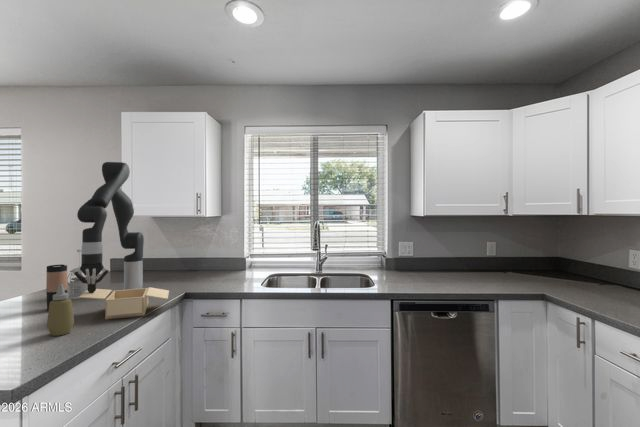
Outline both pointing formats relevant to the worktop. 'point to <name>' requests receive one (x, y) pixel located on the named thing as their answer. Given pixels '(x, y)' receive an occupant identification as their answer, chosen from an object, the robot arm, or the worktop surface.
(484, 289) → the worktop surface
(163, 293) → the flap
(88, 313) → the worktop surface
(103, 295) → the flap
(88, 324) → the worktop surface
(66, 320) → the squeeze bottle
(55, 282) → the travel mug
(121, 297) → the carton
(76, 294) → the french press
